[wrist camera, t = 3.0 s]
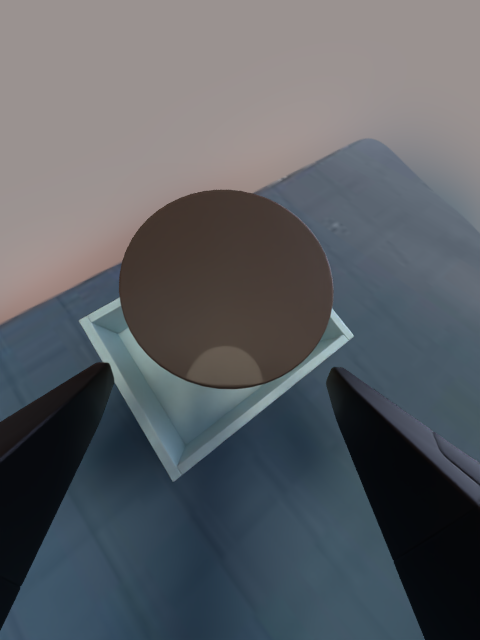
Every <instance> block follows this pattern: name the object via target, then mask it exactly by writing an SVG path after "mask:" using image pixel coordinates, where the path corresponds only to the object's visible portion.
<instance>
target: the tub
mask: <svg viewBox="0 0 480 640" xmlns="http://www.w3.org/2000/svg"><path fill="white" fill-rule="evenodd" d="M79 322H80V324H81V325H82V327H83V329H84V331H85V332H86V334H87V336H88V337H89V339H90V341H91V343H92V344H93V346H94V348H95V349H96V351H97V353H98V355H99V356H100V358H101V360H102V361H103V362H107V363H109V364H110V366H111V369H112V372H113V376H114V382H115V384H116V385H117V387H118V389H119V391H120V392H121V394H122V396H123V397H124V399H125V401H126V403H127V404H128V406H129V408H130V409H131V411H132V413H133V415H134V416H135V418H136V420H137V421H138V423H139V425H140V427H141V428H142V430H143V432H144V433H145V435H146V437H147V439H148V440H149V442H150V444H151V445H152V447H153V449H154V450H155V452H156V454H157V456H158V457H159V459H160V461H161V462H162V464H163V466H164V468H165V469H166V471H167V473H168V474H169V476H170V478H171V480H172V481H173V482H174V481H175V480H177V479H178V478H179V477H180V476H181V475H182V474H184V473H185V472H187V471H188V470H189V469H190V468H192V467H193V466H194V465H195V464H196V463H198V462H199V461H200V460H201V459H203V458H204V457H205V456H206V455H208V454H209V453H210V452H211V451H213V450H214V449H215V448H216V447H218V446H219V445H220V444H221V443H223V442H224V441H225V440H226V439H227V438H229V437H230V436H231V435H232V434H234V433H235V432H236V431H237V430H239V429H240V428H241V427H242V426H244V425H245V424H246V423H247V422H249V421H250V420H251V419H252V418H253V417H255V416H256V415H257V414H258V413H260V412H261V411H262V410H263V409H265V408H266V407H267V406H268V405H270V404H271V403H272V402H273V401H275V400H276V399H277V398H278V397H279V396H281V395H282V394H283V393H284V392H286V391H287V390H288V389H289V388H291V387H292V386H293V385H294V384H296V383H297V382H298V381H299V380H301V379H302V378H303V377H304V376H306V375H307V374H308V373H309V372H310V371H312V370H313V369H314V368H315V367H317V366H318V365H319V364H320V363H322V362H323V361H324V360H325V359H327V358H328V357H329V356H330V355H332V354H333V353H334V352H335V351H336V350H338V349H339V348H340V347H341V346H343V345H344V344H345V343H346V342H348V340H350V339H351V338H353V337H354V335H353V334H352V333H351V332H350V330H349V329H348V328H347V327H346V325H345V324H344V323H343V322H342V320H341V319H340V318H339V317H338V315H337V314H336V313H335V312H334V310H333V309H332V311H331V316H330V319H329V322H328V325H327V328H326V330H325V332H324V334H323V336H322V338H321V340H320V342H319V343H318V344H317V346H316V347H315V349H314V350H313V352H312V353H311V354H310V355H309V356H308V357H307V358H306V359H305V360H304V361H303V362H302V363H301V364H299V365H298V366H297V367H296V368H294V369H293V370H292V371H290V372H289V373H287V374H285V375H283V376H282V377H280V378H278V379H276V380H273V381H271V382H268V383H266V384H262V385H258V386H254V387H251V388H242V389H216V388H210V387H204V386H200V385H197V384H194V383H190V382H187V381H185V380H183V379H181V378H179V377H177V376H175V375H173V374H171V373H170V372H168V371H167V370H165V369H163V368H162V367H160V366H159V365H158V364H157V363H156V362H155V361H153V360H152V359H151V358H150V357H149V356H148V355H147V354H146V353H145V352H144V350H143V349H142V348H141V347H140V346H139V345H138V343H137V341H136V340H135V338H134V337H133V335H132V334H131V332H130V330H129V327H128V325H127V323H126V321H125V318H124V315H123V311H122V307H121V303H120V298H118V299H116V300H115V301H113V302H111V303H109V304H107V305H106V306H104V307H102V308H100V309H98V310H97V311H95V312H93V313H91V314H89V315H88V316H86V317H84V318H82V319H80V320H79Z"/></svg>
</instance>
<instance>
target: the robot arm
mask: <svg viewBox="0 0 480 640" xmlns="http://www.w3.org/2000/svg"><path fill="white" fill-rule="evenodd" d="M113 384H114V376H113V372H112V369H111V366H110V364H109V363H107V362H98V363H95V364H93V365H92V366H90V367H89V368H87V369H85V370H84V371H82V372H80V373H79V374H77V375H76V376H74V377H72V378H71V379H69V380H68V381H66V382H64V383H63V384H61V385H59V386H58V387H56V388H55V389H53V390H51V391H50V392H48V393H47V394H45V395H43V396H42V397H40V398H38V399H37V400H35V401H34V402H32V403H30V404H29V405H27V406H26V407H24V408H22V409H21V410H19V411H17V412H16V413H14V414H13V415H11V416H9V417H8V418H6V419H5V420H3V421H1V422H0V630H1V628H2V626H3V624H4V622H5V620H6V618H7V615H8V613H9V611H10V609H11V607H12V605H13V603H14V601H15V599H16V597H17V595H18V592H19V590H20V586H21V585H22V584H23V582H24V579H25V577H26V575H27V573H28V571H29V569H30V567H31V565H32V563H33V561H34V559H35V557H36V554H37V552H38V550H39V548H40V546H41V544H42V542H43V540H44V538H45V536H46V534H47V532H48V529H49V527H50V525H51V523H52V521H53V519H54V517H55V515H56V513H57V511H58V509H59V506H60V504H61V502H62V500H63V498H64V496H65V494H66V492H67V490H68V488H69V486H70V484H71V481H72V479H73V477H74V475H75V473H76V471H77V469H78V467H79V465H80V463H81V461H82V459H83V456H84V454H85V452H86V450H87V448H88V446H89V444H90V442H91V440H92V438H93V436H94V433H95V431H96V429H97V427H98V425H99V423H100V420H101V418H102V415H103V412H104V410H105V407H106V404H107V401H108V398H109V395H110V393H111V390H112V387H113ZM326 386H327V389H328V393H329V396H330V400H331V403H332V407H333V410H334V414H335V417H336V420H337V423H338V425H339V428H340V430H341V433H342V435H343V438H344V440H345V443H346V445H347V448H348V450H349V453H350V455H351V457H352V460H353V462H354V465H355V467H356V470H357V472H358V475H359V477H360V480H361V482H362V485H363V487H364V490H365V492H366V495H367V497H368V499H369V502H370V504H371V507H372V509H373V512H374V514H375V517H376V519H377V522H378V524H379V527H380V529H381V532H382V534H383V537H384V539H385V542H386V544H387V546H388V549H389V551H390V554H391V556H392V559H393V560H394V564H395V567H396V569H397V572H398V574H399V577H400V579H401V582H402V584H403V586H404V589H405V591H406V594H407V596H408V599H409V601H410V604H411V606H412V609H413V611H414V614H415V616H416V619H417V621H418V624H419V626H420V628H421V631H422V633H423V636H424V638H425V640H480V463H479V462H478V461H476V460H475V459H473V458H472V457H470V456H469V455H467V454H465V453H464V452H463V451H461V450H460V449H458V448H457V447H455V446H454V445H452V444H451V443H449V442H448V441H446V440H445V439H444V438H442V437H441V436H439V435H438V434H437V433H435V432H432V430H431V429H429V428H428V427H427V426H425V425H424V424H422V423H421V422H420V421H418V420H417V419H415V418H414V417H412V416H411V415H410V414H408V413H407V412H405V411H404V410H402V409H401V408H400V407H398V406H397V405H395V404H394V403H393V402H391V401H390V400H388V399H387V398H385V397H384V396H383V395H381V394H380V393H378V392H377V391H376V390H374V389H373V388H371V387H370V386H368V385H367V384H366V383H364V382H363V381H361V380H360V379H359V378H357V377H356V376H354V375H353V374H351V373H350V372H349V371H347V370H346V369H344V368H342V367H333V368H332V369H331V371H330V373H329V376H328V378H327V381H326Z"/></svg>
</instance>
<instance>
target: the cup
mask: <svg viewBox="0 0 480 640" xmlns="http://www.w3.org/2000/svg"><path fill="white" fill-rule="evenodd" d="M333 293H334V290H333V278H332V274H331V269H330V265H329V262H328V260H327V257H326V254H325V252H324V250H323V248H322V246H321V244H320V243H319V241H318V240H317V238H316V237H315V235H314V234H313V233H312V232H311V230H310V229H309V228H308V227H307V226H306V224H304V223H303V222H302V221H301V220H300V219H299V218H298V217H297V216H296V215H294V214H293V213H292V212H290V211H289V210H288V209H286V208H284V207H283V206H281V205H279V204H278V203H276V202H274V201H271V200H269V199H267V198H265V197H262V196H259V195H256V194H252V193H247V192H243V191H235V190H211V191H203V192H198V193H194V194H190V195H187V196H185V197H182V198H179V199H177V200H175V201H173V202H171V203H169V204H167V205H166V206H164V207H163V208H161V209H159V210H158V211H157V212H156V213H154V214H153V215H152V216H151V217H150V218H148V219H147V221H146V222H145V223H144V224H143V225H142V226H141V227H140V228H139V230H138V231H137V232H136V234H135V235H134V237H133V238H132V240H131V242H130V244H129V246H128V248H127V250H126V252H125V255H124V258H123V261H122V265H121V271H120V277H119V294H120V303H121V307H122V311H123V315H124V318H125V321H126V323H127V325H128V327H129V330H130V332H131V334H132V335H133V337H134V338H135V340H136V341H137V343H138V345H139V346H140V347H141V348H142V349H143V350H144V352H145V353H146V354H147V355H148V356H149V357H150V358H151V359H152V360H153V361H155V362H156V363H157V364H158V365H159V366H160V367H162V368H163V369H165V370H167V371H168V372H170V373H171V374H173V375H175V376H177V377H179V378H181V379H183V380H185V381H187V382H190V383H194V384H197V385H200V386H204V387H210V388H216V389H242V388H251V387H254V386H258V385H262V384H266V383H268V382H271V381H273V380H276V379H278V378H280V377H282V376H283V375H285V374H287V373H289V372H290V371H292V370H293V369H294V368H296V367H297V366H298V365H299V364H301V363H302V362H303V361H304V360H305V359H306V358H307V357H308V356H309V355H310V354H311V353H312V352H313V350H314V349H315V347H316V346H317V344H318V343H319V342H320V340H321V338H322V336H323V334H324V332H325V330H326V328H327V325H328V322H329V319H330V316H331V311H332V306H333Z"/></svg>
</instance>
